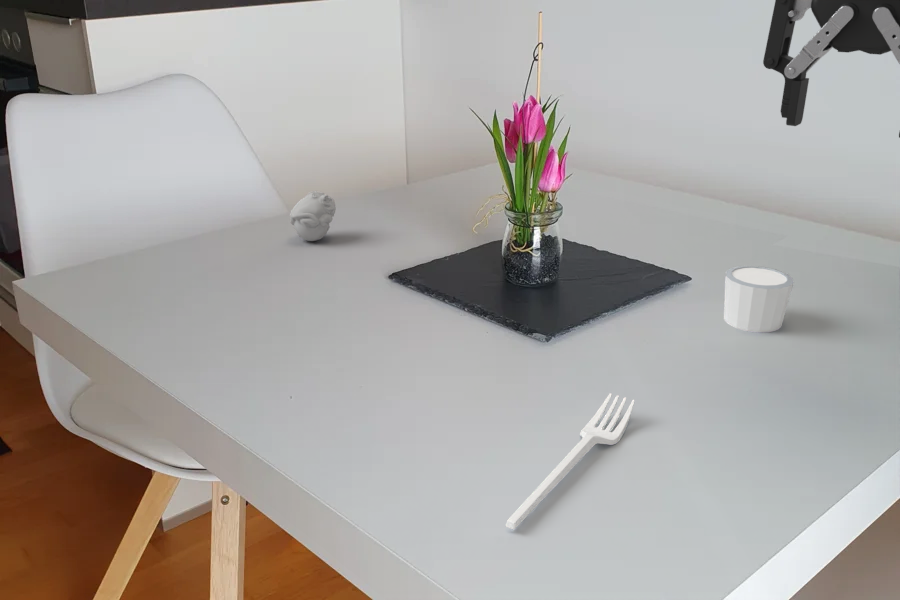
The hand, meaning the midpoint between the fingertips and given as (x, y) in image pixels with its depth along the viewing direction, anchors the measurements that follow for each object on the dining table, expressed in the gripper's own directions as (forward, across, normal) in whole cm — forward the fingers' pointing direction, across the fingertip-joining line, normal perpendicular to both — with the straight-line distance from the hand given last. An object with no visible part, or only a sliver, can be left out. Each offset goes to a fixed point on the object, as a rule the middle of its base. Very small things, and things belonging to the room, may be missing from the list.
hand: (847, 130), depth 68 cm
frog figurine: (+25, +70, -6) cm, 75 cm away
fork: (+25, +11, +22) cm, 35 cm away
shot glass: (+25, +8, -12) cm, 29 cm away
